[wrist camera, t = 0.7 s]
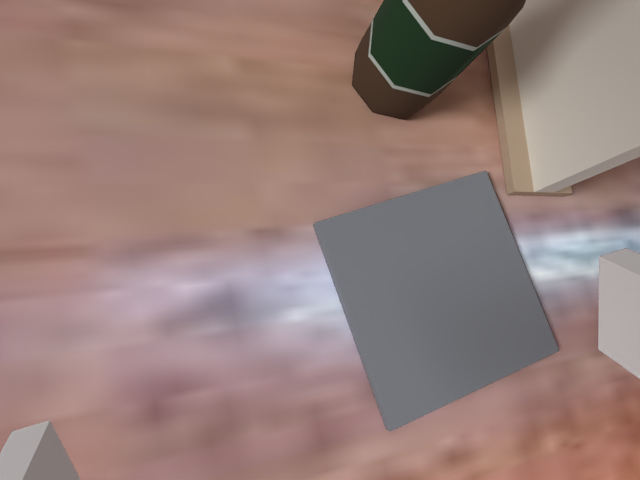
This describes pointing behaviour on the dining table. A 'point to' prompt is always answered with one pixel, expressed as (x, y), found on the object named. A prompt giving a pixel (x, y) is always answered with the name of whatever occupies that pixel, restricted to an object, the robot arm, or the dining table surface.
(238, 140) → the dining table surface
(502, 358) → the mat
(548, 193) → the screen
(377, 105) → the beer bottle
